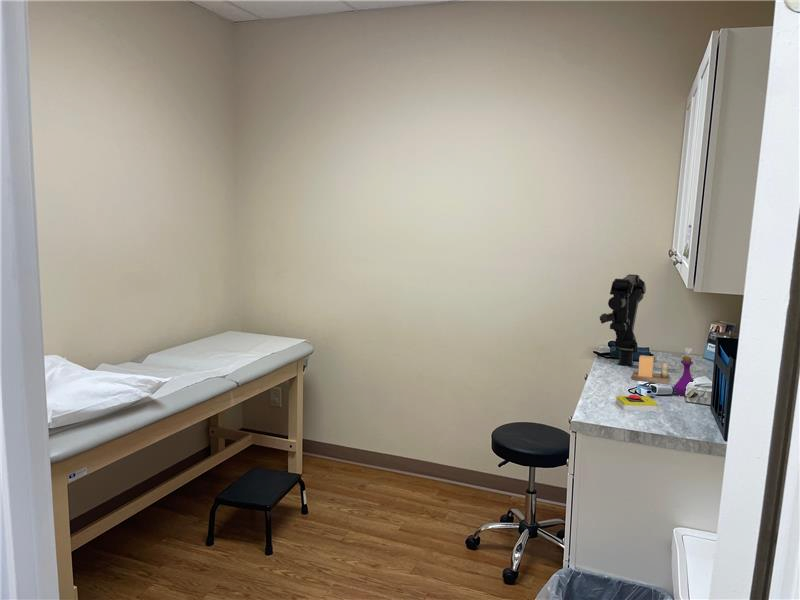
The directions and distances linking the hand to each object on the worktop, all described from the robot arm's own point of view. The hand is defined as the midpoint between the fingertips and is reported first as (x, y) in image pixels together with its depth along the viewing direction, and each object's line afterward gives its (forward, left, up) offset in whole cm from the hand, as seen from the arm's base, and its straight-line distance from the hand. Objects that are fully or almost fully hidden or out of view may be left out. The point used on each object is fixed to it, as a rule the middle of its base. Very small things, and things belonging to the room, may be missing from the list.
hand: (618, 343), depth 249 cm
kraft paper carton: (+10, +12, -10) cm, 19 cm away
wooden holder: (+10, +14, -12) cm, 21 cm away
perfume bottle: (+30, +27, -12) cm, 42 cm away
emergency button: (+54, +12, -13) cm, 57 cm away
